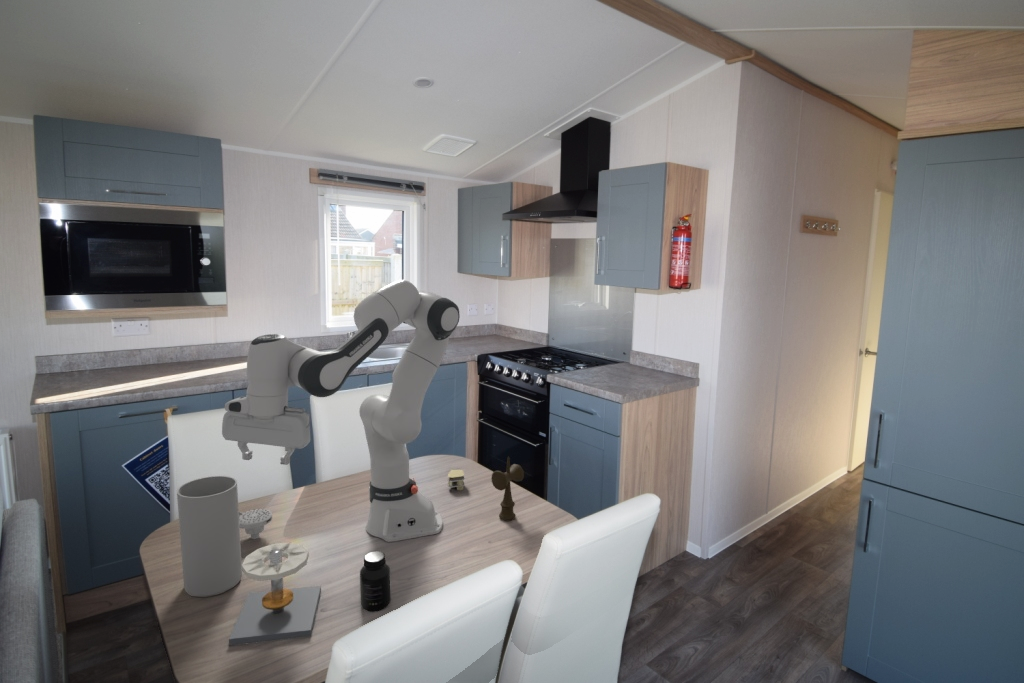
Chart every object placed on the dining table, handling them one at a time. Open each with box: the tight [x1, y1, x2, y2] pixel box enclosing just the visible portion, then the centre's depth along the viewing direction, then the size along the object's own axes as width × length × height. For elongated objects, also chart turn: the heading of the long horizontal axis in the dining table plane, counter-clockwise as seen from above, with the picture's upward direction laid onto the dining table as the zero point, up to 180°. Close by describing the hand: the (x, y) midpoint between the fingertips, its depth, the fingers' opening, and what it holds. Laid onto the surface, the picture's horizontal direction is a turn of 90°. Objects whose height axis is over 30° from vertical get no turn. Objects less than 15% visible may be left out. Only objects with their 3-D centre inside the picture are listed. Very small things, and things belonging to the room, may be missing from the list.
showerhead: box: [239, 508, 273, 540], centre depth 156 cm, size 9×7×10 cm
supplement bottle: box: [359, 550, 392, 613], centre depth 127 cm, size 7×7×12 cm
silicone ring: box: [242, 542, 310, 582], centre depth 120 cm, size 13×13×1 cm
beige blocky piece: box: [446, 469, 465, 491], centre depth 192 cm, size 10×9×6 cm
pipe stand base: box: [228, 585, 322, 646], centre depth 122 cm, size 16×16×2 cm
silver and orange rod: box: [262, 549, 293, 614], centre depth 121 cm, size 6×6×14 cm
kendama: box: [490, 456, 525, 521], centre depth 169 cm, size 6×10×20 cm, turn 140°
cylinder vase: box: [176, 475, 243, 598], centre depth 132 cm, size 12×12×25 cm
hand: (266, 461), depth 129 cm, fingers open, 8 cm apart
